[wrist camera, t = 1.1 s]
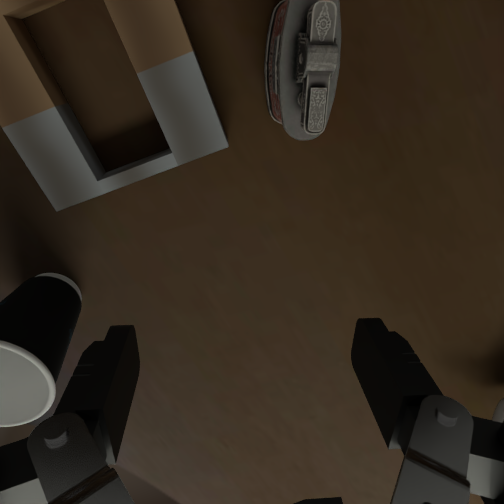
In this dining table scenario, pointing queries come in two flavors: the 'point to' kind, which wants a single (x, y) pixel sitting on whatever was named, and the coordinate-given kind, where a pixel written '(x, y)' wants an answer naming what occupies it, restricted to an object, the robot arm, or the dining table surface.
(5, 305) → the dixie cup
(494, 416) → the teapot
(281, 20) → the lighter
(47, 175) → the tan flat square frame
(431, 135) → the dining table surface
